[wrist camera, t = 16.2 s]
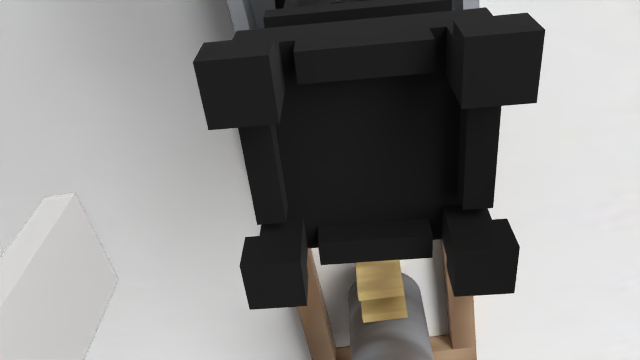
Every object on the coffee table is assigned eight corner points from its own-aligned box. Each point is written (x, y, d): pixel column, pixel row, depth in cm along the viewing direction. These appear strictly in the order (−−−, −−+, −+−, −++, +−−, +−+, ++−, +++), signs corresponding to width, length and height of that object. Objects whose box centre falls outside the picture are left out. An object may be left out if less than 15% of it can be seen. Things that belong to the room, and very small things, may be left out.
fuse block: (318, 364, 48) (314, 559, 35) (249, 118, 36) (206, 283, 23) (476, 346, 47) (531, 543, 34) (462, 84, 34) (541, 239, 21)
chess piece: (264, -88, 28) (169, 45, 12) (423, -105, 28) (568, 7, 11) (284, 63, 33) (238, 320, 16) (423, 50, 32) (527, 302, 15)
